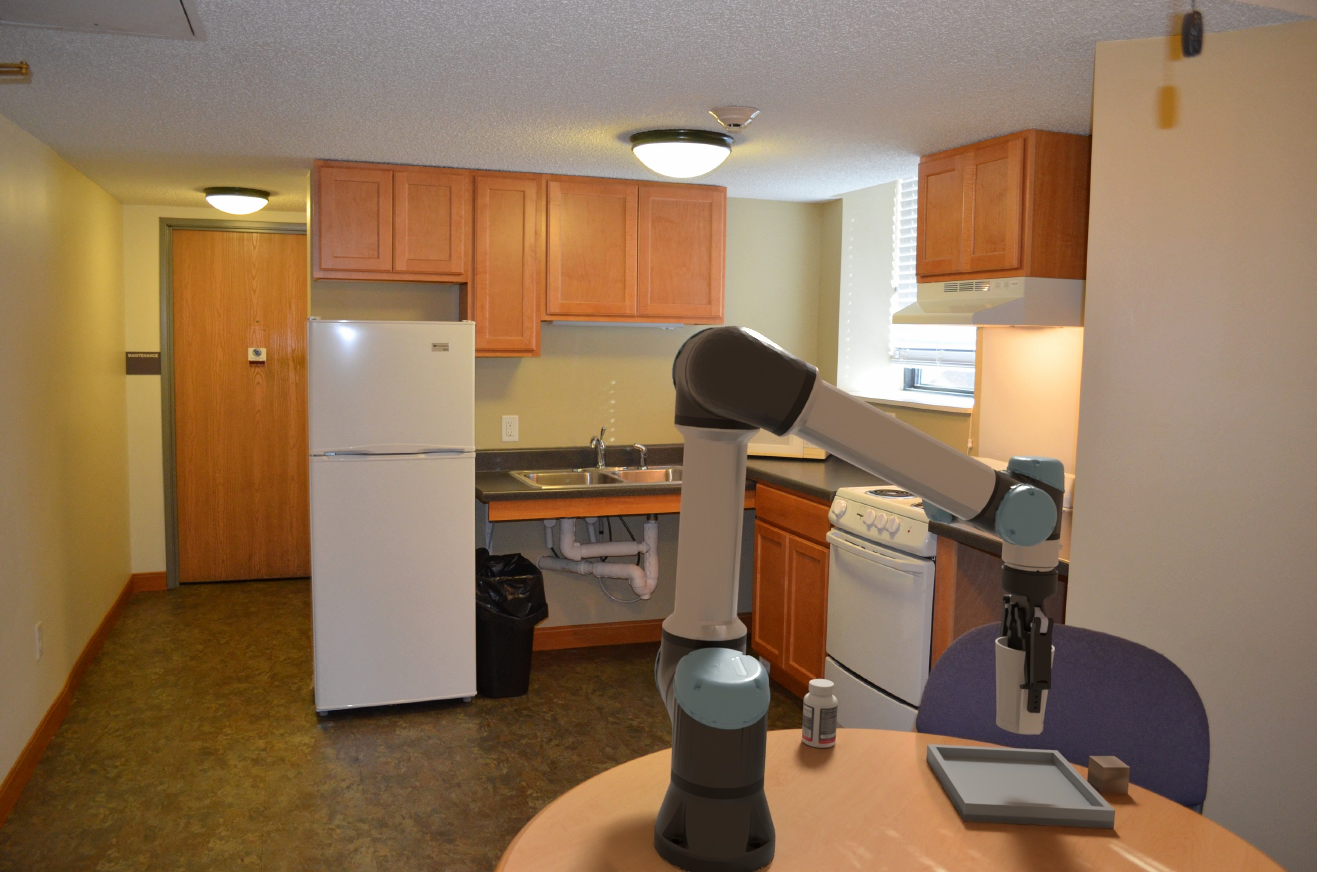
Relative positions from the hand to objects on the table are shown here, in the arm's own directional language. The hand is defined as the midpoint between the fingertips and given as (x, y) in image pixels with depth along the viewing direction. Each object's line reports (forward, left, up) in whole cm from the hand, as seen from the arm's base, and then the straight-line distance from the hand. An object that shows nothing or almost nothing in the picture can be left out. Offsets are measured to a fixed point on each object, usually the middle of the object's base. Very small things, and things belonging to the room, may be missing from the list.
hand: (1019, 721), depth 139 cm
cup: (0, 0, -1) cm, 1 cm away
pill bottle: (-26, +15, -11) cm, 32 cm away
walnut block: (+15, +3, -11) cm, 18 cm away
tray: (0, 0, -10) cm, 10 cm away
